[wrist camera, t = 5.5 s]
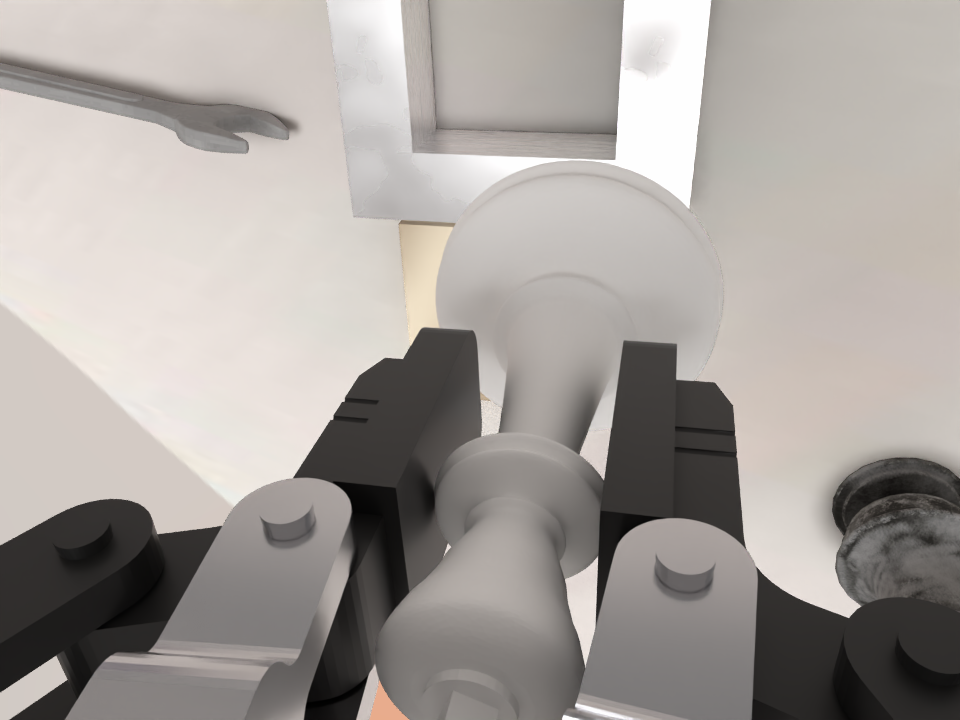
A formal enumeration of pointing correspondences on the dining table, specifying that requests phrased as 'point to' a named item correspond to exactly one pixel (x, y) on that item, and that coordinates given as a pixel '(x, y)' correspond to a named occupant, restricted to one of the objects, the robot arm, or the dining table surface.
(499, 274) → the chess piece
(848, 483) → the salt shaker
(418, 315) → the birch pad
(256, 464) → the dining table surface
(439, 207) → the socket block
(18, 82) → the combination wrench
